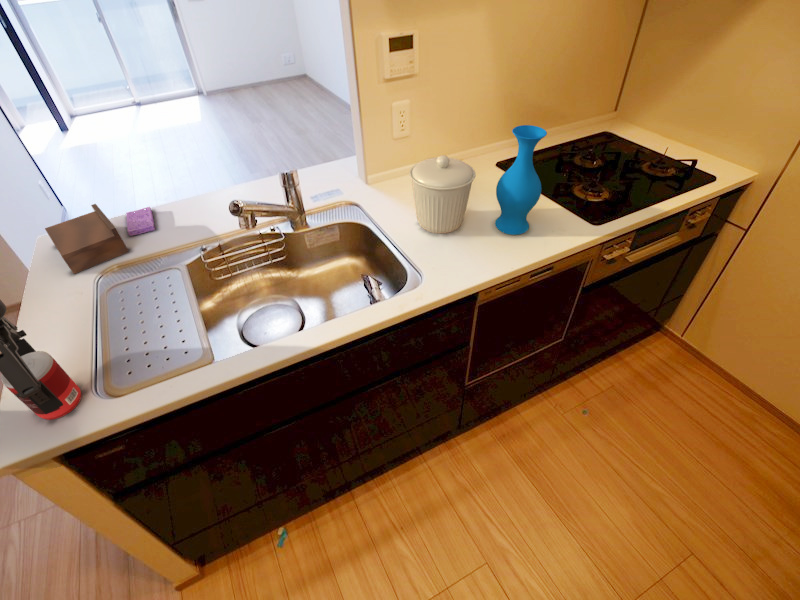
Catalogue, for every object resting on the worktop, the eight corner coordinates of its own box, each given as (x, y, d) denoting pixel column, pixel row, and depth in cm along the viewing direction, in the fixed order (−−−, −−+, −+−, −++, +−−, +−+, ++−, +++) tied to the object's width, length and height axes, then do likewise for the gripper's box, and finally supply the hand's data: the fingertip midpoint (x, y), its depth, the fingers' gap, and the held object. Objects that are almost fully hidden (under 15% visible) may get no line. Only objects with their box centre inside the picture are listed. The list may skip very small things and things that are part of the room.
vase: (491, 237, 121) (506, 140, 103) (490, 214, 131) (503, 121, 112) (534, 239, 120) (558, 142, 101) (530, 216, 130) (550, 122, 111)
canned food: (78, 380, 87) (47, 344, 79) (87, 405, 82) (54, 370, 75) (34, 400, 83) (-3, 365, 76) (41, 428, 78) (2, 394, 71)
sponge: (130, 236, 125) (127, 231, 124) (128, 217, 133) (125, 211, 132) (155, 230, 127) (153, 225, 126) (152, 211, 135) (149, 206, 134)
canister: (467, 208, 133) (474, 142, 119) (472, 241, 120) (481, 171, 106) (409, 208, 134) (409, 142, 120) (408, 241, 121) (408, 171, 107)
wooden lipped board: (74, 274, 112) (56, 249, 107) (56, 246, 122) (40, 222, 117) (129, 251, 119) (115, 227, 114) (108, 227, 129) (95, 203, 124)
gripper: (6, 331, 59) (86, 415, 74) (-21, 256, 73) (52, 339, 87) (-62, 361, 56) (37, 443, 70) (-76, 276, 69) (9, 360, 84)
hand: (45, 386), depth 79 cm, fingers open, 13 cm apart
